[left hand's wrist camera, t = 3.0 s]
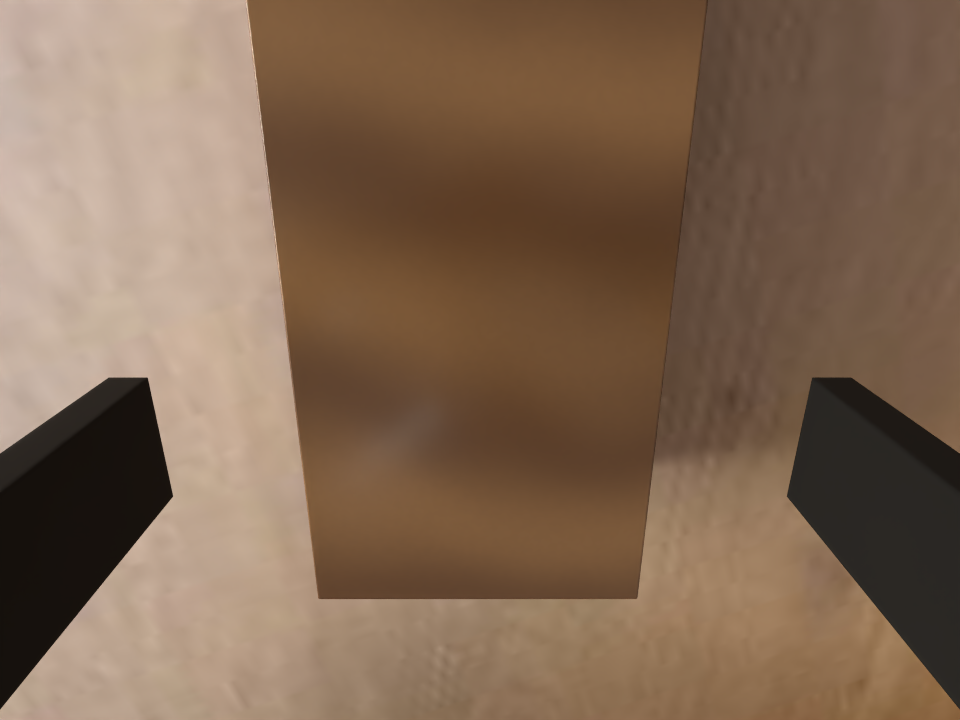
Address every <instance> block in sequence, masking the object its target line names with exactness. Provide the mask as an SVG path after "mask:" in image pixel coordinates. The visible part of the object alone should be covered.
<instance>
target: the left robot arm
mask: <svg viewBox="0 0 960 720" xmlns="http://www.w3.org/2000/svg"><path fill="white" fill-rule="evenodd" d="M172 497H173V494H172V489H171V484H170V480H169V475H168V470H167V466H166V461H165V456H164V452H163V447H162V442H161V438H160V433H159V428H158V424H157V419H156V414H155V410H154V405H153V400H152V396H151V391H150V386H149V382H148V378H108V379H106V380H105V381H103V382H102V383H101V384H99V385H98V386H96V387H95V388H93V389H92V390H91V391H89V392H88V393H86V394H85V395H83V396H82V397H81V398H79V399H78V400H76V401H75V402H73V403H72V404H70V405H69V406H68V407H66V408H65V409H63V410H62V411H60V412H59V413H58V414H56V415H55V416H53V417H52V418H50V419H49V420H48V421H46V422H45V423H43V424H42V425H40V426H39V427H38V428H36V429H35V430H33V431H32V432H30V433H29V434H28V435H26V436H25V437H23V438H22V439H20V440H19V441H18V442H16V443H15V444H13V445H12V446H10V447H9V448H8V449H6V450H5V451H3V452H2V453H0V709H1V708H2V707H3V705H4V704H5V703H6V702H7V700H8V699H9V698H10V697H11V695H12V694H13V693H14V692H15V690H16V689H17V688H18V687H19V686H20V684H21V683H22V682H23V681H24V679H25V678H26V677H27V676H28V674H29V673H30V672H31V671H32V670H33V668H34V667H35V666H36V665H37V663H38V662H39V661H40V660H41V658H42V657H43V656H44V655H45V654H46V652H47V651H48V650H49V649H50V647H51V646H52V645H53V644H54V642H55V641H56V640H57V639H58V638H59V636H60V635H61V634H62V633H63V631H64V630H65V629H66V628H67V626H68V625H69V624H70V623H71V622H72V620H73V619H74V618H75V617H76V615H77V614H78V613H79V612H80V610H81V609H82V608H83V607H84V605H85V604H86V603H87V602H88V601H89V599H90V598H91V597H92V596H93V594H94V593H95V592H96V591H97V589H98V588H99V587H100V586H101V585H102V583H103V582H104V581H105V580H106V578H107V577H108V576H109V575H110V573H111V572H112V571H113V570H114V569H115V567H116V566H117V565H118V564H119V562H120V561H121V560H122V559H123V557H124V556H125V555H126V554H127V553H128V551H129V550H130V549H131V548H132V546H133V545H134V544H135V543H136V541H137V540H138V539H139V538H140V536H141V535H142V534H143V533H144V532H145V530H146V529H147V528H148V527H149V525H150V524H151V523H152V522H153V520H154V519H155V518H156V517H157V516H158V514H159V513H160V512H161V511H162V509H163V508H164V507H165V506H166V504H167V503H168V502H169V501H170V500H171V498H172ZM787 497H788V498H789V500H790V501H791V502H792V503H793V504H794V506H795V507H796V508H797V509H798V511H799V512H800V513H801V514H802V516H803V517H804V518H805V519H806V520H807V522H808V523H809V524H810V525H811V527H812V528H813V529H814V530H815V532H816V533H817V534H818V535H819V536H820V538H821V539H822V540H823V541H824V543H825V544H826V545H827V546H828V548H829V549H830V550H831V551H832V553H833V554H834V555H835V556H836V557H837V559H838V560H839V561H840V562H841V564H842V565H843V566H844V567H845V569H846V570H847V571H848V572H849V573H850V575H851V576H852V577H853V578H854V580H855V581H856V582H857V583H858V585H859V586H860V587H861V588H862V589H863V591H864V592H865V593H866V594H867V596H868V597H869V598H870V599H871V601H872V602H873V603H874V604H875V605H876V607H877V608H878V609H879V610H880V612H881V613H882V614H883V615H884V617H885V618H886V619H887V620H888V622H889V623H890V624H891V625H892V626H893V628H894V629H895V630H896V631H897V633H898V634H899V635H900V636H901V638H902V639H903V640H904V641H905V642H906V644H907V645H908V646H909V647H910V649H911V650H912V651H913V652H914V654H915V655H916V656H917V657H918V658H919V660H920V661H921V662H922V663H923V665H924V666H925V667H926V668H927V670H928V671H929V672H930V673H931V674H932V676H933V677H934V678H935V679H936V681H937V682H938V683H939V684H940V686H941V687H942V688H943V689H944V690H945V692H946V693H947V694H948V695H949V697H950V698H951V699H952V700H953V702H954V703H955V704H956V705H957V707H958V708H959V709H960V453H958V452H957V451H955V450H954V449H952V448H951V447H950V446H948V445H947V444H945V443H944V442H942V441H941V440H940V439H938V438H937V437H935V436H934V435H932V434H931V433H930V432H928V431H927V430H925V429H924V428H922V427H921V426H920V425H918V424H917V423H915V422H914V421H912V420H911V419H910V418H908V417H907V416H905V415H904V414H902V413H901V412H900V411H898V410H897V409H895V408H894V407H892V406H891V405H890V404H888V403H887V402H885V401H884V400H882V399H881V398H879V397H878V396H877V395H875V394H874V393H872V392H871V391H869V390H868V389H867V388H865V387H864V386H862V385H861V384H859V383H858V382H857V381H855V380H854V379H852V378H812V382H811V386H810V391H809V396H808V400H807V405H806V410H805V414H804V419H803V424H802V428H801V433H800V438H799V442H798V447H797V452H796V456H795V461H794V466H793V470H792V475H791V480H790V484H789V489H788V494H787Z"/></svg>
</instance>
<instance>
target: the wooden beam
mask: <svg viewBox="0 0 960 720" xmlns="http://www.w3.org/2000/svg"><path fill="white" fill-rule="evenodd" d="M707 3H708V0H246V7H247V15H248V23H249V32H250V40H251V48H252V56H253V64H254V73H255V81H256V89H257V97H258V106H259V114H260V122H261V130H262V139H263V147H264V155H265V163H266V171H267V180H268V188H269V196H270V204H271V213H272V221H273V229H274V237H275V246H276V254H277V262H278V270H279V278H280V287H281V295H282V303H283V311H284V320H285V328H286V336H287V344H288V353H289V361H290V369H291V377H292V385H293V394H294V402H295V410H296V418H297V427H298V435H299V443H300V451H301V460H302V468H303V476H304V484H305V492H306V501H307V509H308V517H309V525H310V534H311V542H312V550H313V558H314V567H315V575H316V583H317V591H318V598H319V599H637V596H638V587H639V579H640V570H641V562H642V554H643V545H644V537H645V528H646V520H647V511H648V503H649V494H650V486H651V477H652V469H653V460H654V452H655V444H656V435H657V427H658V418H659V410H660V401H661V393H662V384H663V376H664V367H665V359H666V350H667V342H668V334H669V325H670V317H671V308H672V300H673V291H674V283H675V274H676V266H677V257H678V249H679V240H680V232H681V223H682V215H683V207H684V198H685V190H686V181H687V173H688V164H689V156H690V147H691V139H692V130H693V122H694V113H695V105H696V97H697V88H698V80H699V71H700V63H701V54H702V46H703V37H704V29H705V20H706V12H707Z"/></svg>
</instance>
